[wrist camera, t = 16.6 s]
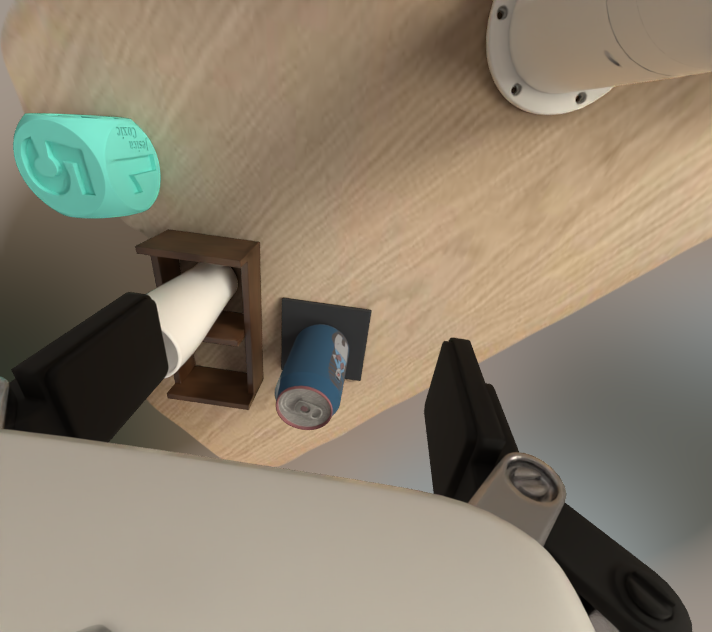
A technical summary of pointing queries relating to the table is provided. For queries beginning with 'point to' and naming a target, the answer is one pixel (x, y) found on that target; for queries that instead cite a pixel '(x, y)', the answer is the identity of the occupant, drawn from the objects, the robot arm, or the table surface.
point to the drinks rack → (228, 326)
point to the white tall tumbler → (191, 308)
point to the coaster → (340, 317)
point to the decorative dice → (87, 164)
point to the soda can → (312, 378)
